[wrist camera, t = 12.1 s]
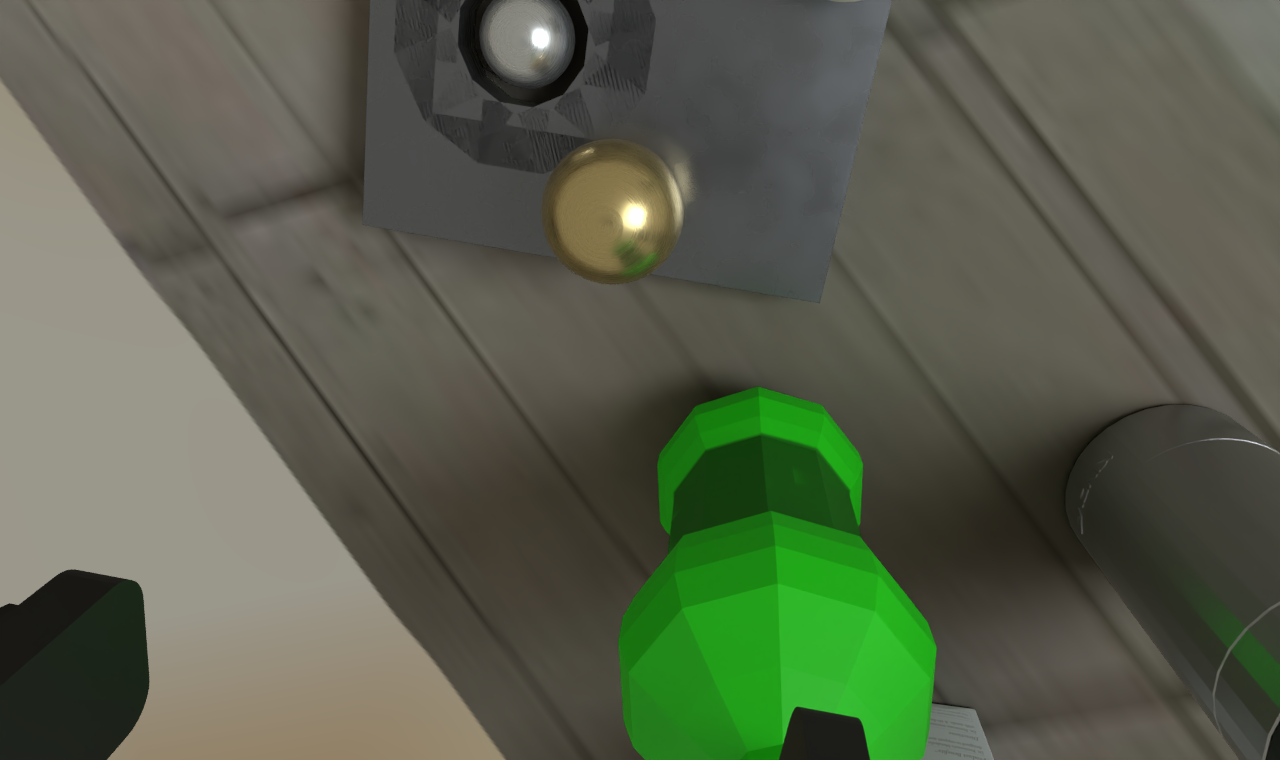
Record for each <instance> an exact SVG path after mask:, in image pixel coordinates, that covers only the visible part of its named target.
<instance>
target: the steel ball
mask: <svg viewBox="0 0 1280 760" xmlns="http://www.w3.org/2000/svg"><path fill="white" fill-rule="evenodd" d="M479 39H480V46H481V50H482V53H483V56H484V58H485V60H486V62H487V64H488V65H489V67H490V68H491V69H492V70H493V72H494V73H495V74H496V75H497V76H499V77H500V78H501V79H502V80H504V81H505V82H507V83H509V84H511V85H514V86H517V87H521V88H538V87H542V86H545V85H548V84H550V83H552V82H553V81H555V80H556V79H557V78H558V77H560V76H561V75H562V74H563V72H564V71H565V70H566V69H567V67H568V65H569V64H570V62H571V59H572V57H573V53H574V49H575V30H574V25H573V22H572V19H571V17H570V15H569V13H568V11H567V10H566V8H565V7H564V5H563V4H562V3H561V2H560V1H559V0H492V1H491V2H490V4H489V5H488V6H487V8H486V10H485V12H484V14H483V17H482V19H481V23H480V30H479Z"/></svg>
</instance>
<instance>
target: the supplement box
mask: <svg viewBox="0 0 1280 760" xmlns="http://www.w3.org/2000/svg"><path fill="white" fill-rule="evenodd" d="M921 760H994V759H993V756H992V753H991V751H990V748H989V746H988V743H987V740H986V737H985V735H984V732H983V730H982V727H981V724H980V722H979V719H978V716H977V714H976V711H975V710H974V709H970V708H962V707H955V706H948V705H941V704H933V703H932V707H931V718H930V729H929V734H928V739H927V744H926V749H925V753H924V757H923V758H922V759H921Z"/></svg>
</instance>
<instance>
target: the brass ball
mask: <svg viewBox="0 0 1280 760" xmlns="http://www.w3.org/2000/svg"><path fill="white" fill-rule="evenodd" d="M683 218H684V206H683V199H682V194H681V190H680V187H679V185H678V182H677V180H676V178H675V176H674V174H673V173H672V171H671V169H670V168H669V167H668V166H667V164H666V163H665V162H664V161H663V160H662V159H661V158H660V157H659V156H658V155H656V154H655V153H654V152H652V151H651V150H649V149H648V148H646V147H644V146H642V145H640V144H637V143H634V142H631V141H627V140H621V139H603V140H598V141H593V142H590V143H587V144H584V145H582V146H580V147H578V148H576V149H575V150H573V151H572V152H570V153H569V154H568V155H567V156H566V157H564V158H563V159H562V160H561V161H560V163H559V164H558V165H557V166H556V167H555V169H554V170H553V172H552V173H551V175H550V177H549V179H548V181H547V183H546V185H545V189H544V192H543V196H542V202H541V219H542V226H543V231H544V234H545V237H546V239H547V242H548V244H549V246H550V248H551V249H552V251H553V252H554V254H555V255H556V257H557V258H558V259H559V260H560V261H561V262H562V263H563V264H564V265H565V266H566V267H567V268H568V269H569V270H571V271H572V272H574V273H575V274H577V275H579V276H581V277H583V278H585V279H587V280H590V281H593V282H597V283H601V284H623V283H629V282H632V281H636V280H638V279H640V278H643V277H645V276H647V275H649V274H650V273H652V272H653V271H655V270H656V269H657V268H658V267H660V266H661V265H662V264H663V263H664V262H665V261H666V260H667V258H668V257H669V255H670V254H671V253H672V251H673V249H674V248H675V246H676V244H677V242H678V239H679V237H680V234H681V230H682V226H683Z"/></svg>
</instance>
